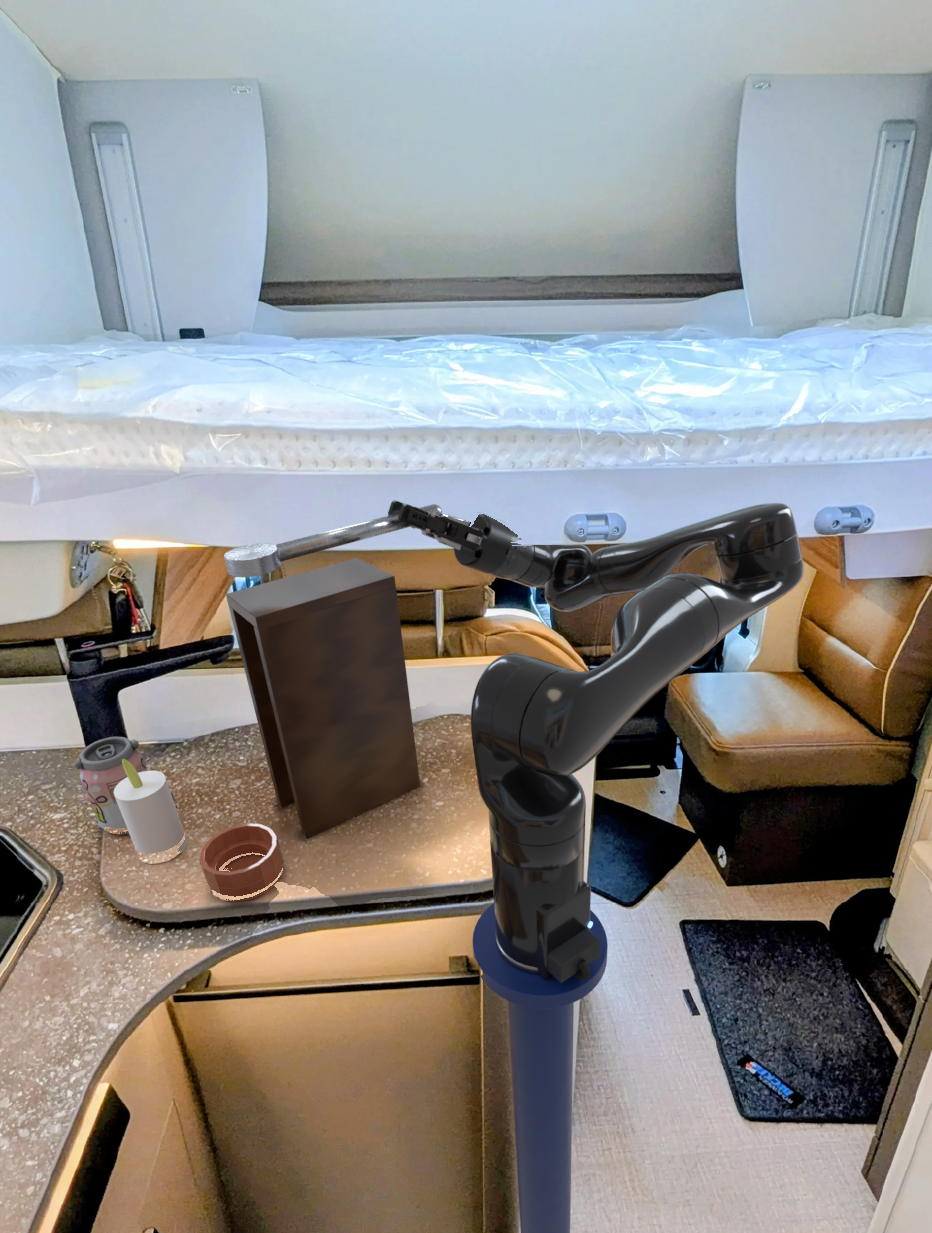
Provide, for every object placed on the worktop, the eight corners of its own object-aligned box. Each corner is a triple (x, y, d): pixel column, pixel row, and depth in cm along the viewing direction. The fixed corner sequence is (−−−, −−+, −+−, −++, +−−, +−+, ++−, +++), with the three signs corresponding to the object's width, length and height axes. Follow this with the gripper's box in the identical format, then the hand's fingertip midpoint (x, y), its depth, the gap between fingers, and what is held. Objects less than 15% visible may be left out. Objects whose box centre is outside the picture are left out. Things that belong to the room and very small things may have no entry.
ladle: (429, 514, 95) (427, 499, 94) (454, 522, 91) (453, 506, 90) (220, 568, 82) (216, 552, 81) (238, 581, 78) (234, 564, 77)
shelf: (386, 756, 110) (356, 557, 94) (420, 786, 102) (394, 575, 86) (277, 803, 101) (225, 593, 85) (306, 839, 94) (255, 617, 78)
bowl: (296, 882, 87) (288, 851, 85) (224, 917, 83) (213, 886, 80) (268, 843, 94) (260, 813, 91) (200, 874, 90) (190, 844, 87)
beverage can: (94, 813, 103) (65, 744, 97) (153, 790, 107) (128, 723, 101) (106, 846, 96) (76, 774, 90) (169, 821, 100) (144, 750, 94)
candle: (198, 842, 95) (167, 749, 88) (155, 871, 91) (119, 776, 83) (170, 826, 99) (139, 736, 91) (128, 853, 94) (92, 761, 87)
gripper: (474, 513, 104) (378, 473, 93) (535, 531, 94) (436, 488, 83) (457, 562, 106) (361, 528, 95) (515, 585, 96) (415, 550, 85)
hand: (396, 510), depth 89 cm, fingers closed on ladle, 2 cm apart
